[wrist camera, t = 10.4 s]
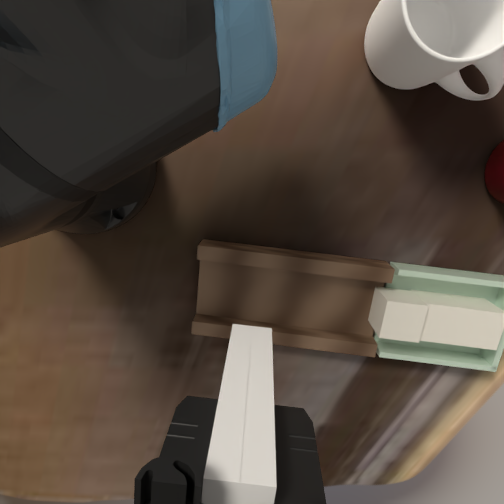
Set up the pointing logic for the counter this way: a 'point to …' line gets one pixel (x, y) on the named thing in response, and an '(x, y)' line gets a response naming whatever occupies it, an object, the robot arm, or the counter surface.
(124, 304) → the counter surface
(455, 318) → the white cube
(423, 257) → the counter surface
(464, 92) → the mug
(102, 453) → the counter surface
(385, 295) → the pale grey cube
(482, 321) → the cream cube
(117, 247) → the counter surface
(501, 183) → the soda can
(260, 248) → the slot board
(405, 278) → the tray
